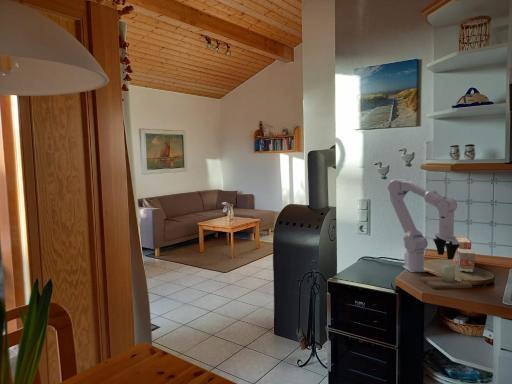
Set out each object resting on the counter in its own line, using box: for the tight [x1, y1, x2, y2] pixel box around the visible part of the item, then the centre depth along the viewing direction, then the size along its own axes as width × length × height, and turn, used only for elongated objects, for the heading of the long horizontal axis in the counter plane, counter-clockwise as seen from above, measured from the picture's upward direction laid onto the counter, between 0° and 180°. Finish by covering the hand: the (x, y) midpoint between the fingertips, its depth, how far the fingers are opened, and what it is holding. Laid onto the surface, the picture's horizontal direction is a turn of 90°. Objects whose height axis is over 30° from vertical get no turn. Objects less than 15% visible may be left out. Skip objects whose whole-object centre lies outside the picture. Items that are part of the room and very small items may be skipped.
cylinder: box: [441, 264, 456, 282], centre depth 164 cm, size 5×5×6 cm
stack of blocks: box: [451, 236, 476, 271], centre depth 188 cm, size 21×6×12 cm, turn 162°
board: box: [419, 275, 473, 290], centre depth 165 cm, size 12×16×1 cm
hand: (445, 256), depth 171 cm, fingers open, 7 cm apart
